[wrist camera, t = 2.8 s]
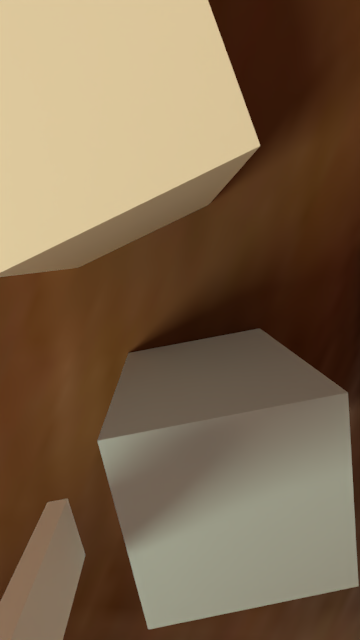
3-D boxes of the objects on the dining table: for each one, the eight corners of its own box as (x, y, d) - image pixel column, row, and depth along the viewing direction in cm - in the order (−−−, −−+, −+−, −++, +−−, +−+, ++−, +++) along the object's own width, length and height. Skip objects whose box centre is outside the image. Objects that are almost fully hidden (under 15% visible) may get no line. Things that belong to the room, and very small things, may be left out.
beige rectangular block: (78, 267, 17) (-12, 278, 8) (-2, 119, 15) (-225, -68, 6) (208, 204, 17) (260, 146, 8) (143, 45, 15) (116, -256, 6)
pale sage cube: (154, 467, 20) (148, 629, 11) (128, 352, 18) (97, 440, 10) (273, 443, 20) (358, 586, 12) (259, 328, 18) (348, 392, 10)
